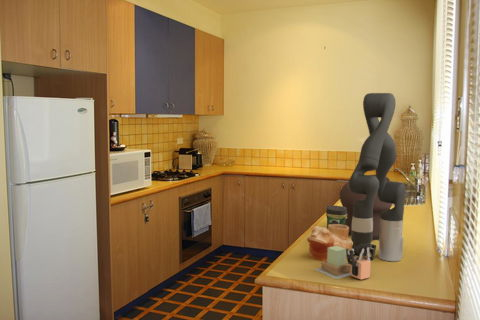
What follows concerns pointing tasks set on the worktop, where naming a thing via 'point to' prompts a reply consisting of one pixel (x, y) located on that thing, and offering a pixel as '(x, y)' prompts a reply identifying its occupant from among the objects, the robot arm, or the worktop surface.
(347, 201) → the vase
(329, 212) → the coffee jar
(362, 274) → the terracotta block
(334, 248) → the sage block
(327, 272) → the board
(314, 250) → the ceramic vessel
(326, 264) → the walnut base
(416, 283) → the worktop surface
